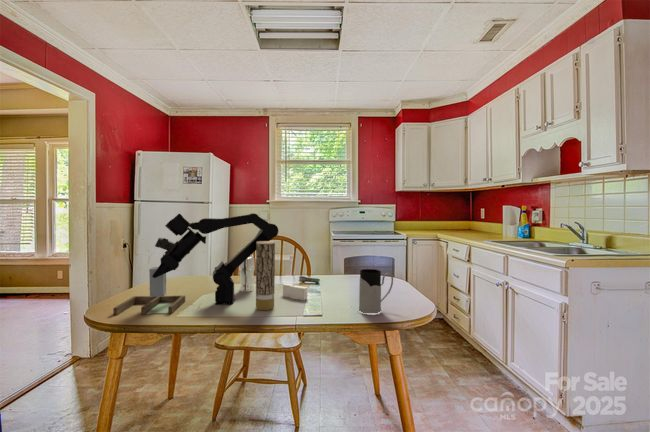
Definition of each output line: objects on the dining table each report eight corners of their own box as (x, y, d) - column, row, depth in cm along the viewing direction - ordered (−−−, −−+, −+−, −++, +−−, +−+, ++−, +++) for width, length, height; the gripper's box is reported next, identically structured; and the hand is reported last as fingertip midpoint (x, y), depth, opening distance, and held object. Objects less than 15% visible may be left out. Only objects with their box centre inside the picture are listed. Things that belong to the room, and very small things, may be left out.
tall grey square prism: (166, 293, 124) (165, 266, 123) (163, 296, 119) (162, 268, 119) (153, 294, 122) (152, 267, 122) (149, 297, 118) (149, 269, 118)
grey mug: (353, 309, 123) (354, 269, 122) (385, 305, 128) (386, 267, 128) (365, 316, 115) (366, 274, 114) (399, 312, 120) (399, 271, 120)
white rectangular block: (313, 301, 135) (313, 287, 135) (287, 304, 130) (287, 290, 130) (301, 292, 148) (301, 280, 148) (276, 295, 144) (277, 282, 144)
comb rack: (185, 301, 130) (185, 295, 130) (172, 313, 115) (172, 306, 115) (133, 302, 128) (133, 296, 128) (113, 315, 113) (113, 308, 113)
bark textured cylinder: (258, 312, 118) (259, 242, 118) (253, 307, 124) (254, 241, 124) (276, 309, 121) (277, 242, 121) (270, 304, 127) (271, 240, 127)
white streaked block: (250, 292, 145) (250, 258, 145) (236, 291, 147) (236, 258, 146) (256, 288, 152) (257, 256, 152) (242, 288, 153) (243, 256, 153)
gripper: (171, 228, 130) (140, 257, 127) (167, 231, 113) (131, 265, 109) (192, 247, 134) (163, 276, 130) (192, 253, 116) (158, 286, 112)
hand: (154, 275), depth 120 cm, fingers closed on tall grey square prism, 5 cm apart
